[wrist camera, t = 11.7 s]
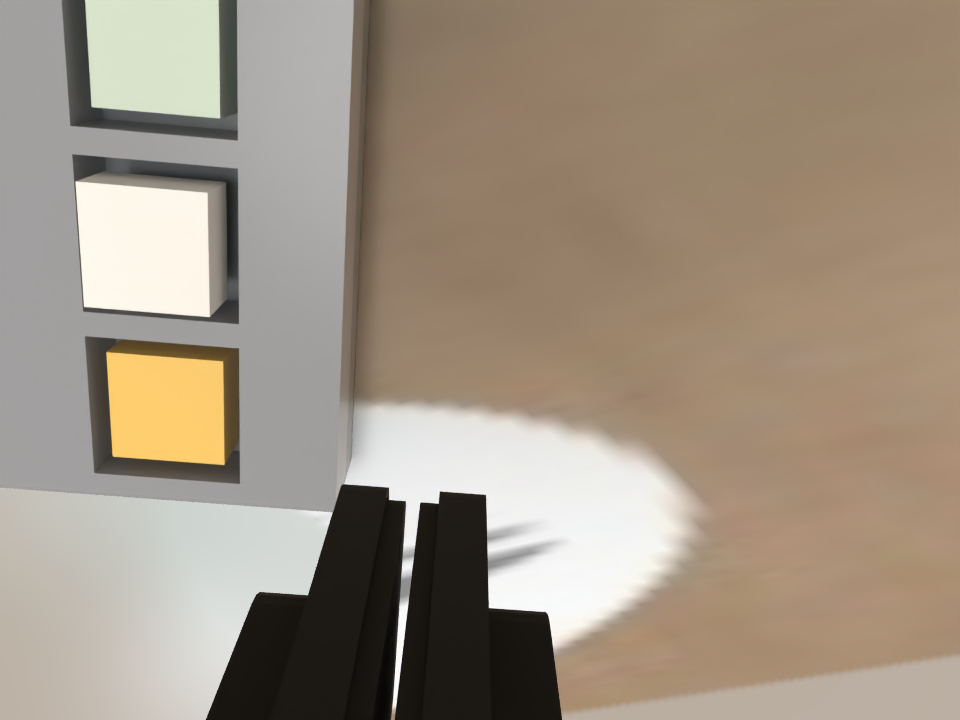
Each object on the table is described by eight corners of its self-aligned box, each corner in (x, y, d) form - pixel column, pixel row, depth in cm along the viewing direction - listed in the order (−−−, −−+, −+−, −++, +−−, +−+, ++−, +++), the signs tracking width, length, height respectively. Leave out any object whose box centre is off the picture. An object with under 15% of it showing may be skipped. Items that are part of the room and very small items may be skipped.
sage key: (236, -15, 33) (218, -20, 30) (237, 112, 34) (220, 118, 32) (111, -27, 33) (83, -32, 30) (118, 102, 34) (91, 107, 32)
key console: (372, -48, 34) (355, -61, 30) (351, 459, 42) (335, 512, 37) (8, -83, 34) (-67, -102, 29) (52, 436, 41) (-2, 487, 37)
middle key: (226, 181, 34) (207, 192, 31) (227, 298, 35) (209, 317, 33) (103, 171, 33) (75, 181, 31) (110, 288, 35) (84, 307, 33)
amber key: (239, 341, 38) (223, 361, 35) (239, 439, 39) (224, 465, 37) (129, 332, 37) (106, 352, 35) (134, 431, 39) (112, 456, 37)
